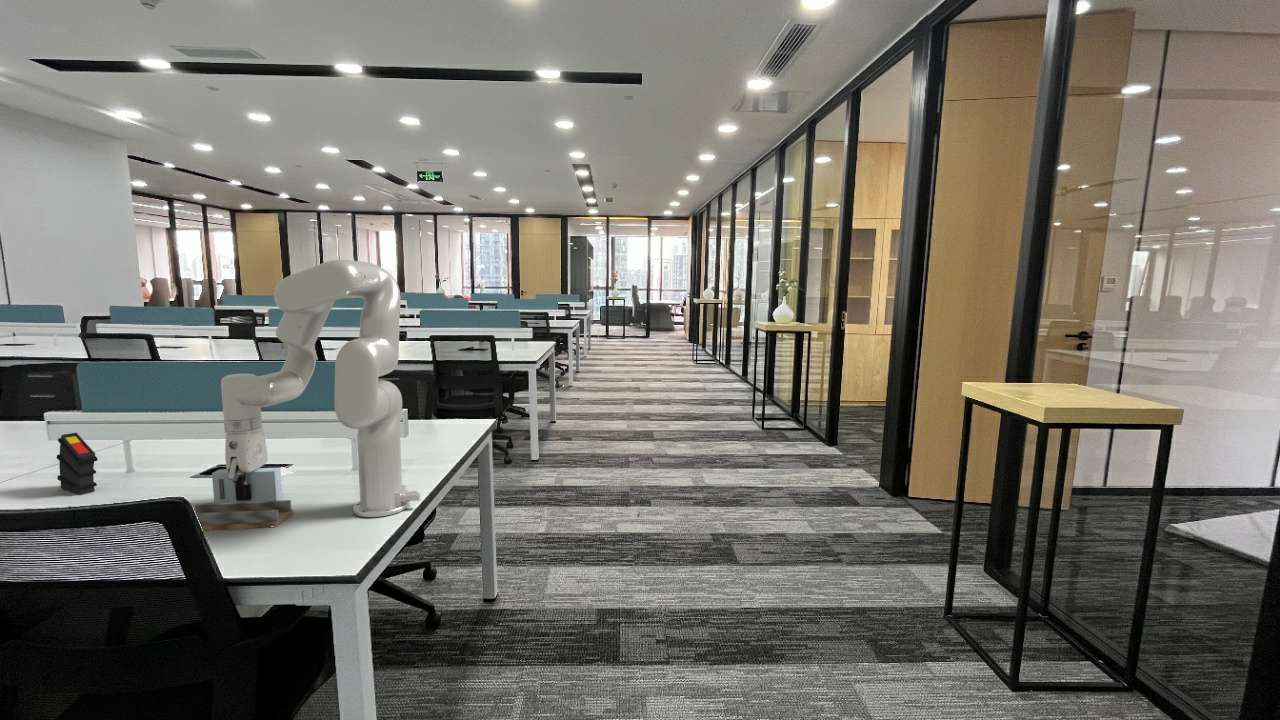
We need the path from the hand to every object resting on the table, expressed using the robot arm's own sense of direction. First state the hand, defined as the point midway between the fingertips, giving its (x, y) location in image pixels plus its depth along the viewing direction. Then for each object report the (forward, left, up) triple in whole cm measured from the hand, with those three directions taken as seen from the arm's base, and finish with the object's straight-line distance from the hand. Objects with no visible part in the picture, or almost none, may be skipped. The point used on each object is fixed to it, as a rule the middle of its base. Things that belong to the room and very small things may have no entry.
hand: (248, 496), depth 138 cm
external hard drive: (+7, -22, -3) cm, 23 cm away
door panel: (0, 0, -2) cm, 2 cm away
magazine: (+49, -16, -3) cm, 52 cm away
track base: (-3, +11, -2) cm, 12 cm away
